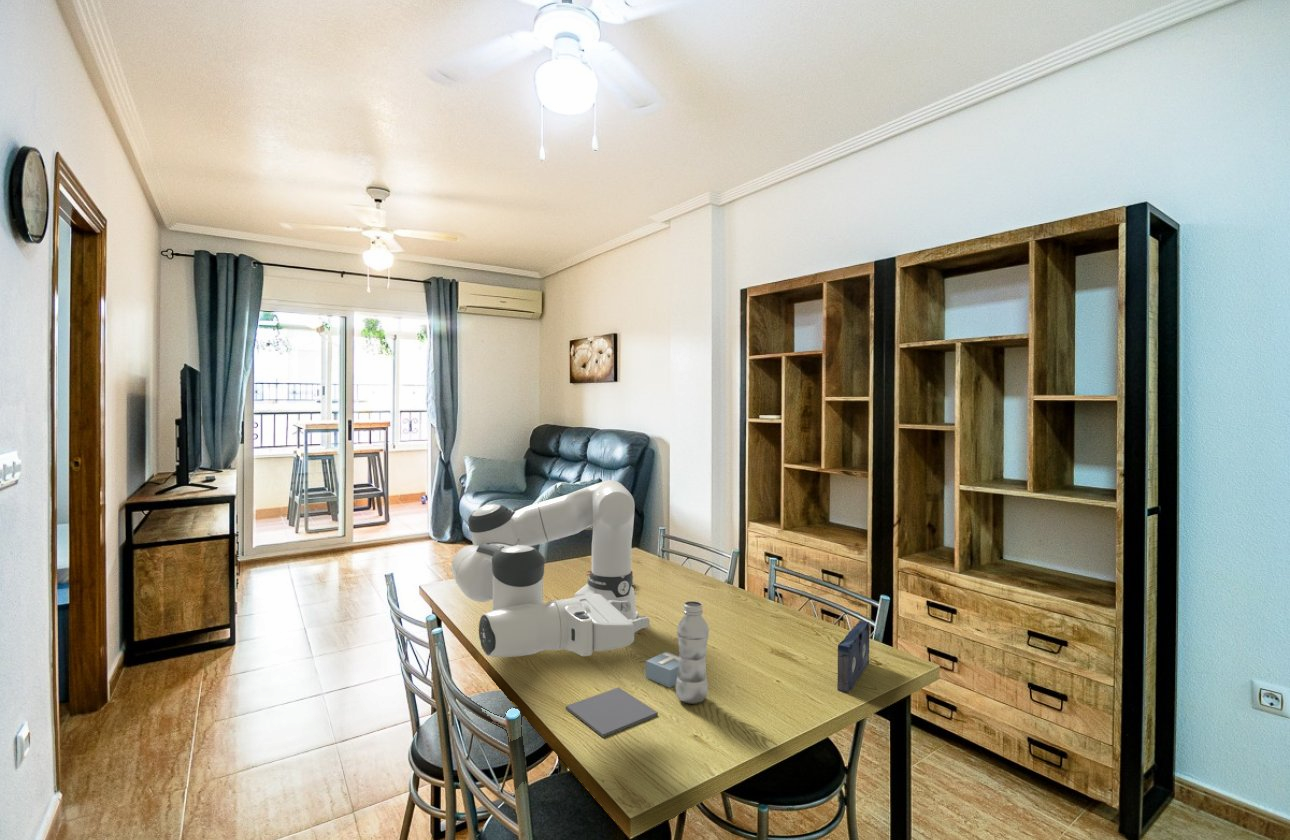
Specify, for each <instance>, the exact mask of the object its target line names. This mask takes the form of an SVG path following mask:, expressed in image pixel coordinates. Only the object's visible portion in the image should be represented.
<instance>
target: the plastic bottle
mask: <svg viewBox="0 0 1290 840" xmlns="http://www.w3.org/2000/svg"><path fill="white" fill-rule="evenodd" d="M683 604H684V605H683V614H684V615H683V616H682V618H681V619H680V621H679V623H678V625H677V627H676V630H677V631H676V632H677V633H676V634H677V641H678V642H677V643H678V654H679V655H678V656H679V668H678V676H677V680H676V685H674V687H675V694H676V697H677V698H678V700H679V701H681V702H683V703H686V704H699V703H701V702H704V700H706V698H707V695H708V691H709V690H708V689H709V685H708V678H707V669H706V668H707V665H706V658H707V657H706V656H707V647H708V640H709V635H710V628H709V625H708V623H707V621H706V620H705V619H704V617H703V615H702V614H703V612H704V610H703V603H702V602H699V601H697V600H690V601H689V600H688V601H685V602H684V603H683Z"/></svg>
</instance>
